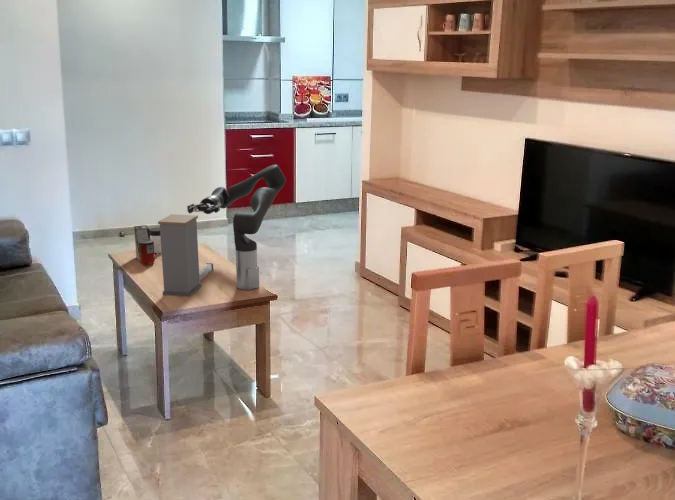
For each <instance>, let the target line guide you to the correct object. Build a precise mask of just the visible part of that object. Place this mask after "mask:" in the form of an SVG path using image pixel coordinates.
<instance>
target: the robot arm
mask: <svg viewBox="0 0 675 500" xmlns="http://www.w3.org/2000/svg"><path fill="white" fill-rule="evenodd" d="M261 179H263V180H264V182H265V183H266V185H267V186H264V187H260V188H258V189H256V190H255V191H254V193H253V195H252V196H251V198H250V207H251V209H252V211H253V212H243V211H239V212H236V213H235V214H234V216H233V220H232V221H233V222H232V225H233V227H232V228H233V237H234V239H233V241H234V246H235V248H234V249H235V272H236V276H235V277H236V288H237V289H239V290H245V291H246V290H247V291H251V290H254V289H257V288H260V267H259V266H258V243H257V242H256V241H255V240H253V239H251V238H249V237H247V236H246V235H256V234H257V232H258V231H259V230H260V227H261V225H262V223H263V220H264V218H265V216H266V214H267V212H268V210H269V209H270V208H271V207H272V204H273V203H274V200H275V199H276V197H277V196H278V194H279V192H280V191H281V190H282V189H283V188H284V186H285V185H286V183H287V178H286V176H285V175H284V172H283V171H282V169H281V168H280V166H279V165H278V164H272V165H269V166H267V167H265V168H263V169H261V170H260V171H258V172H257V173H255V174H253V175H251V176H250V177H248V178H245V180H243V181H241V182H238V183H236V184H233V185H231V186H229V188H228V189H226V188H225V187H223V186H218V187H216V188H215V189H214V190H213V191H212V193H211V194H210V195H209V196H207V197H205V198H203V199H202V200H200V202H199V203H197V204H195V203H192V204H191V203H190V204H188V205H187V206H186V208H187V211H186V212H187V213H188V214H192V213H193V212H195V213H204V214H207V215H210V214H213V213H215V214H216V213H218V212H220V211H221V209H222V210H223V209H226V208H228V207H230V206H231V205H232V204H233V203H234V202H235V201H237V200H239V199H241V198H242V199H243V197H246V196H248V195H249V194H251V193H252V192H253V189H254V188H255V186H256V185H257V184H258V182H259V181H260V180H261ZM227 190H228V191H227Z"/></svg>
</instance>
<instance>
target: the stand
mask: <svg viewBox="0 0 675 500" xmlns="http://www.w3.org/2000/svg"><path fill="white" fill-rule="evenodd" d="M198 218H199V215H195V214H194V215H191V214H169V215H168V216H165V217H164V218H162V219H160V220H158V221H157V224H158V225H159V227H160V236H161V251H162V254H161V263H162V278H163V290H162V295H163V296H174V297H191V296H192V295H193V294H194V293H196V292H197V291H198V290H199V289H200V288H201V287H202V283H201V281H200V278H199V268H200V264H199V263H200V262H199V243H198V228H197V224H198V223H197V219H198Z"/></svg>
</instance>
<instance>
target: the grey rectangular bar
mask: <svg viewBox="0 0 675 500" xmlns="http://www.w3.org/2000/svg"><path fill="white" fill-rule="evenodd" d="M212 271H214V263H213V262H212V263H210V262H206V263H205V264H203V265H202V266H201V267H199V278H200V282H201V281H202V280H203V279H205V278H206V277H207V276H208V274H209V273H211V272H212Z"/></svg>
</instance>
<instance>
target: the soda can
mask: <svg viewBox="0 0 675 500" xmlns="http://www.w3.org/2000/svg"><path fill="white" fill-rule="evenodd" d="M139 254H140V261H139V262H140V264H141V266H144V267H149V266H153V265H154V264H155V262H156V258H155V257H156V256H155V254H154V241H153V240H151V239H142V240H140V241H139Z"/></svg>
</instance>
